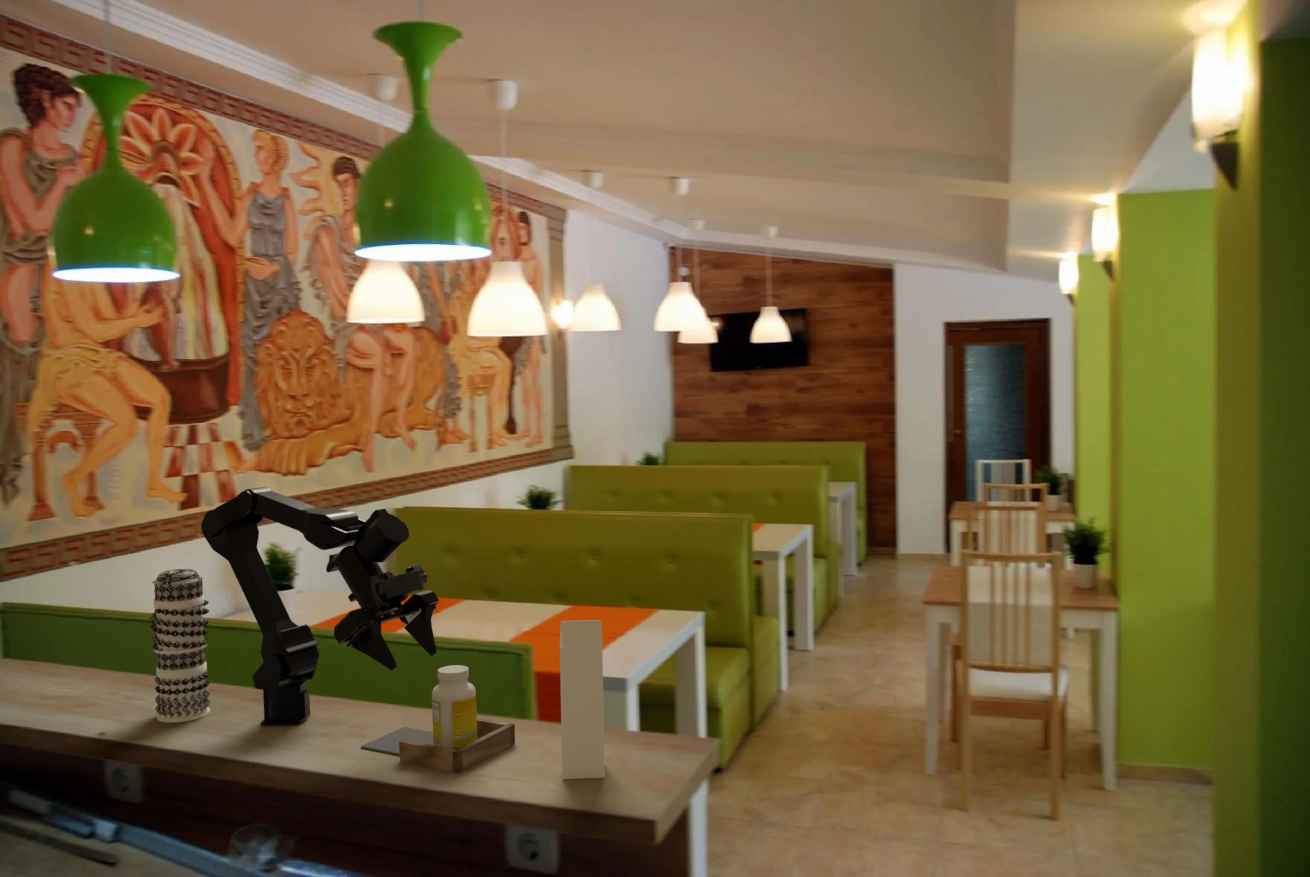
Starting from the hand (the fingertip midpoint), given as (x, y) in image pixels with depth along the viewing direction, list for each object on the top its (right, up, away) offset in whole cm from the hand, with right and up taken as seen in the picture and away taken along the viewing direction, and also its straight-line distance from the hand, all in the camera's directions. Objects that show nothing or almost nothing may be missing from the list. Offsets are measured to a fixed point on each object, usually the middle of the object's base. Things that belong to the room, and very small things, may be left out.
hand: (415, 661), depth 162 cm
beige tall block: (+27, -14, -12) cm, 32 cm away
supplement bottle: (+7, -14, -3) cm, 15 cm away
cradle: (+7, -13, -3) cm, 15 cm away
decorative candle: (-44, -13, +18) cm, 49 cm away
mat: (-2, -13, +2) cm, 13 cm away
